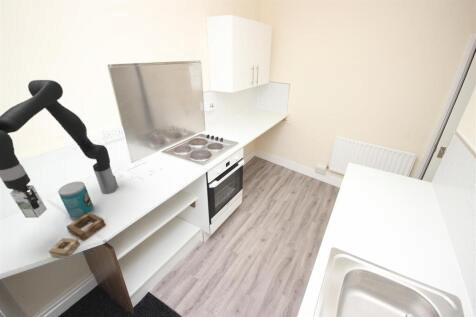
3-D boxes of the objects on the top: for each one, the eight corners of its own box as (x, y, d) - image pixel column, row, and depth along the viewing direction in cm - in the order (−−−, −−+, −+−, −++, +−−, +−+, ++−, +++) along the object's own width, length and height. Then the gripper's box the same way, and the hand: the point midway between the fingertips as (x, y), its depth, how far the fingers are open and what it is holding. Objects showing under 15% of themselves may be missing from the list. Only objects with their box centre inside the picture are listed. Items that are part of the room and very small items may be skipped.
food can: (66, 213, 125) (54, 188, 117) (88, 203, 134) (79, 178, 125) (75, 223, 119) (62, 197, 111) (98, 211, 128) (88, 186, 119)
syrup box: (47, 209, 102) (33, 184, 95) (38, 218, 97) (22, 192, 90) (35, 209, 102) (20, 184, 95) (25, 218, 97) (8, 192, 90)
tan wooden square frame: (65, 242, 108) (62, 237, 106) (80, 244, 107) (77, 239, 105) (51, 256, 101) (48, 251, 99) (67, 258, 100) (64, 253, 98)
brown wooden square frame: (91, 218, 123) (89, 212, 120) (105, 225, 118) (103, 219, 116) (69, 232, 113) (66, 226, 111) (83, 241, 109) (80, 234, 106)
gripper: (33, 174, 89) (50, 205, 97) (16, 166, 95) (33, 195, 103) (10, 184, 84) (30, 215, 92) (-7, 175, 89) (13, 205, 97)
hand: (31, 205), depth 97 cm, fingers closed on syrup box, 7 cm apart
